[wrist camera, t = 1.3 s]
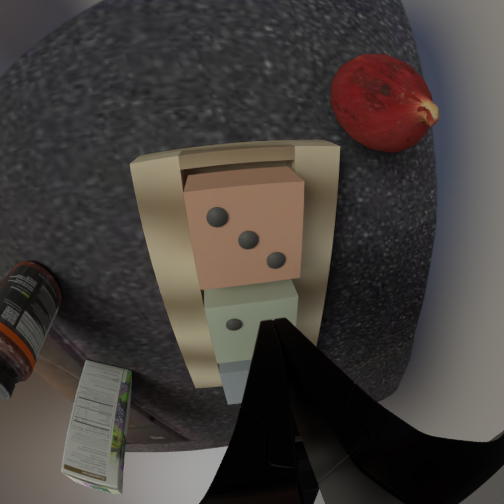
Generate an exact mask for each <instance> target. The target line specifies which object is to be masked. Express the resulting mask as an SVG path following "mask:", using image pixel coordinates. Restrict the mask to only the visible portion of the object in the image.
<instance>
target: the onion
mask: <svg viewBox="0 0 504 504" xmlns="http://www.w3.org/2000/svg"><path fill="white" fill-rule="evenodd" d="M331 106H332V108H333V111H334V113H335V116H336V118H337V121H338V122H339V123H340V125H341V126H342V127H343V128H344V130H345V131H346V132H347V133H348V135H349V136H350V137H352V138H353V139H354V140H356V141H357V142H359V143H361V144H363V145H364V146H366V147H368V148H370V149H374V150H379V151H385V152H390V153H395V152H400V151H402V150H405V149H407V148H410V147H412V146H414V145H415V144H417V143H418V142H419V141H420V140H421V139H422V138H423V137H424V135H425V134H426V133H427V131H428V129H429V127H430V126H433V125H435V124H436V122H437V121H438V120H439V118H440V116H439V112H438V106H436V105H435V104H434V103H433V102H432V96H431V93H430V91H429V89H428V87H427V85H426V83H425V81H424V80H423V78H422V77H421V76H420V75H419V74H418V73H417V72H416V71H415V70H414V69H413V68H412V67H411V66H410V65H408V64H407V63H405V62H403V61H400V60H398V59H395V58H393V57H391V56H388V55H386V54H368V55H360V56H358V57H356V58H354V59H352V60H351V61H349V62H347V63H346V64H344V65H342V66H341V67H340V68H339V69H338V71H337V73H336V75H335V77H334V79H333V81H332V83H331Z"/></svg>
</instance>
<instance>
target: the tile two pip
mask: <svg viewBox="0 0 504 504" xmlns="http://www.w3.org/2000/svg"><path fill="white" fill-rule="evenodd" d="M297 308H298V294H297V292H296V289H295V287H294V285H293V282H292V280H291V279H287V280H279V281H272V282H264V283H256V284H248V285H240V286H232V287H223V288H214V289H205V290H204V309H205V314H206V319H207V323H208V327H209V332H210V336H211V340H212V345H213V349H214V353H215V357H216V361H217V363H226V362H235V361H243V360H251V359H252V356H253V351H254V347H255V342H256V338H257V333H258V329H259V324H260V321H262V320H269V319H272V320H274V319H276V318H282V317H285V318H287V319H288V320H289V321H290V322H291V323H292V324H293V325H294V326H295V327H296V319H297Z"/></svg>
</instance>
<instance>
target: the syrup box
mask: <svg viewBox="0 0 504 504" xmlns="http://www.w3.org/2000/svg"><path fill="white" fill-rule="evenodd" d="M131 393H132V372H131V370H127V369H123V368H118V367H114V366H110V365H106V364H101V363H97V362H93V361H89V360H86V362H85V365H84V368H83V371H82V375H81V378H80V382H79V385H78V389H77V392H76V396H75V401H74V405H73V409H72V413H71V418H70V422H69V427H68V431H67V437H66V442H65V449H64V455H63V462H62V469H61V471H62V474H65V475H66V476H68V477H69V478H71V479H72V480H73V481H75V482H77V483H79V484H81V485H84V486H86V487H89V488H92V489H95V490H99V491H102V492H107V493H114V494H122V487H123V486H122V485H123V467H124V455H125V445H126V436H127V427H128V418H129V409H130V401H131Z"/></svg>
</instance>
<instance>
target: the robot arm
mask: <svg viewBox="0 0 504 504" xmlns="http://www.w3.org/2000/svg"><path fill="white" fill-rule="evenodd" d="M319 488H320V491H321V494H322V496H323V499H324V502H325V504H504V431H503V432H501V433H500V434H499V435H497V436H496V437H494V438H493V439H492V440H490V441H489V442H473V441H463V440H455V439H447V438H441V437H435V436H430V435H427V434H425V433H422V432H420V431H418V430H417V429H415V428H414V427H412V426H410V425H409V424H407V423H406V422H405V421H403V420H401V419H400V418H399V417H397V416H396V415H394V414H393V413H391V412H390V411H389V410H387V409H386V408H384V407H383V406H382V405H380V404H379V403H378V402H376V401H375V400H374V399H373V398H371V397H370V396H369V395H368V394H367V393H366V392H364V391H363V390H362V389H361V388H360V387H359V386H358V385H357V384H354V381H352V380H351V379H350V378H349V377H348V376H347V375H346V374H345V373H344V372H343V371H342V370H341V369H340V368H338V367H337V366H336V365H335V364H334V363H333V362H332V361H331V360H330V359H329V358H328V357H327V356H326V355H325V354H324V353H323V352H322V351H320V350H319V349H318V348H317V347H316V346H315V345H314V344H313V343H312V342H311V341H310V340H309V339H308V338H307V337H306V336H305V335H304V334H303V333H302V332H301V331H300V330H298V329H297V328H296V327H295V326H294V325H293V324H292V323H291V322H290V321H289V320H288V319H287V318H285V317H282V318H276V319H274V320H272V319H269V320H262V321H260V324H259V329H258V333H257V338H256V342H255V347H254V351H253V356H252V360H251V364H250V369H249V373H248V377H247V382H246V386H245V390H244V394H243V399H242V403H241V408H240V410H239V415H238V419H237V422H236V426H235V429H234V432H233V435H232V438H231V440H230V443H229V446H228V448H227V451H226V453H225V455H224V457H223V460H222V462H221V464H220V466H219V468H218V471H217V473H216V475H215V477H214V479H213V482H212V483H211V485H210V487H209V489H208V491H207V493H206V494H205V496H204V498H203V499H202V500H201V502H200V503H199V504H314V501H315V499H316V496H317V494H318V491H319Z"/></svg>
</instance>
